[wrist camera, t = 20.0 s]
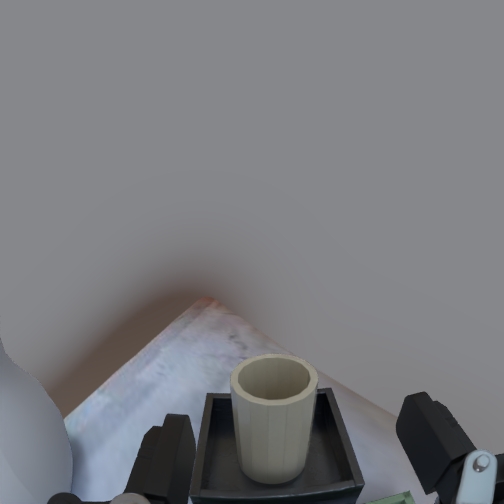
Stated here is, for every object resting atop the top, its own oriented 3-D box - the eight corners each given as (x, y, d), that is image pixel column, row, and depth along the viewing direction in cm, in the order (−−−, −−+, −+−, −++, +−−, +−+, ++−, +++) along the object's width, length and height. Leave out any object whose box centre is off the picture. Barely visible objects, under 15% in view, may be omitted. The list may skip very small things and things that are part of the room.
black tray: (327, 411, 31) (331, 387, 30) (354, 504, 17) (365, 484, 16) (210, 417, 31) (206, 392, 30) (197, 514, 17) (188, 495, 16)
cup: (301, 433, 27) (309, 351, 24) (310, 481, 21) (326, 400, 18) (239, 436, 27) (232, 354, 24) (237, 485, 21) (227, 406, 18)
